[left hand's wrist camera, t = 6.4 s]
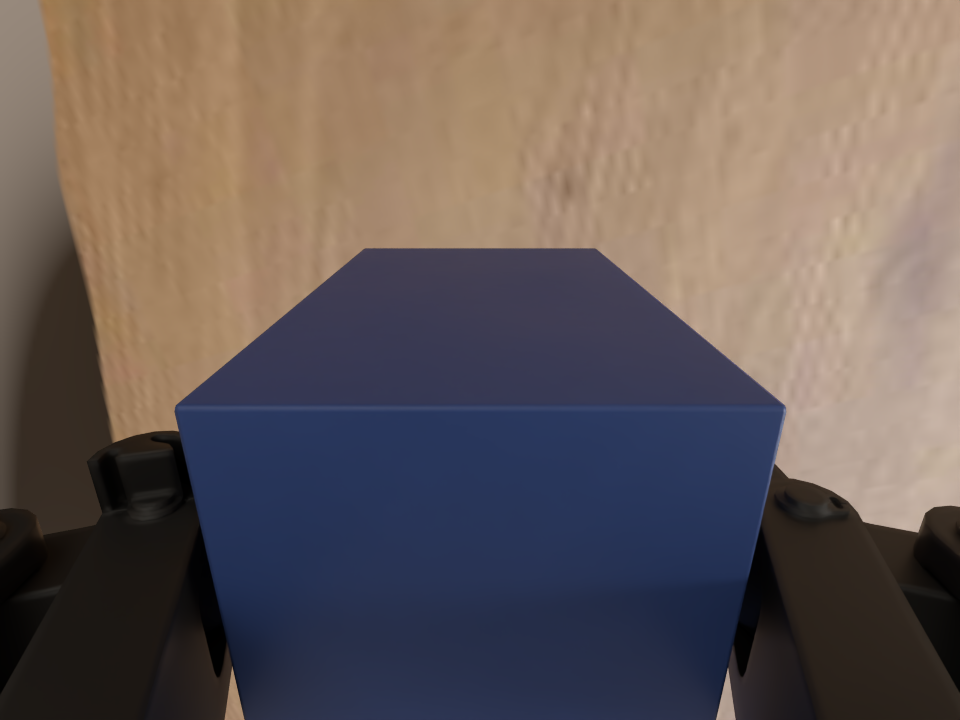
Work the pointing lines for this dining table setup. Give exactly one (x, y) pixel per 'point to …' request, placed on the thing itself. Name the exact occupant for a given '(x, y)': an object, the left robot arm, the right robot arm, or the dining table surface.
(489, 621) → the bar
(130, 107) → the dining table surface
